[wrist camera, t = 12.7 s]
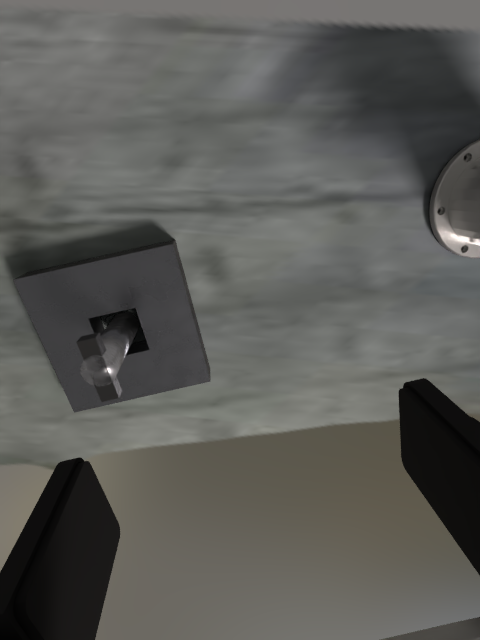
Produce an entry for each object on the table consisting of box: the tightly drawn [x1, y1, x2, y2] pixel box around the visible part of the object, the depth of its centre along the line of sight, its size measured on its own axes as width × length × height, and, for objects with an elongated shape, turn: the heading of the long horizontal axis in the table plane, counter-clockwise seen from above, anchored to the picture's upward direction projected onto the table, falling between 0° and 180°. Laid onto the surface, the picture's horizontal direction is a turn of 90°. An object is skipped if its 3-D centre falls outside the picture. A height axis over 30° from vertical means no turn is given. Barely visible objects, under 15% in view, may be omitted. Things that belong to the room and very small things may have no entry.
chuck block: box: [13, 240, 210, 412], centre depth 39 cm, size 16×16×3 cm
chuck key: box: [76, 312, 139, 402], centre depth 35 cm, size 3×6×11 cm, turn 12°
